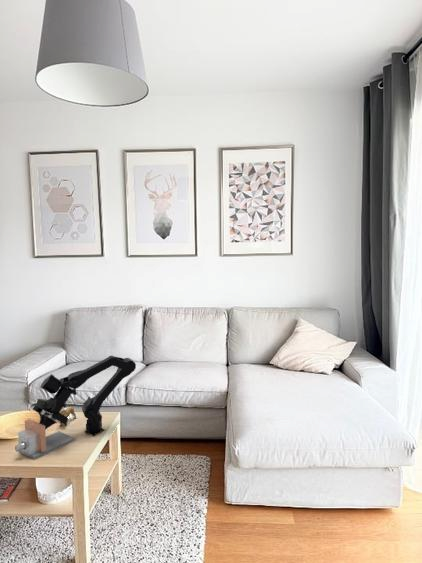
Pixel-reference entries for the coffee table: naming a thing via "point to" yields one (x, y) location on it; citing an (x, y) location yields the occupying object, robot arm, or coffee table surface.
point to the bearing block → (29, 441)
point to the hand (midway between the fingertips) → (37, 433)
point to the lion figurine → (67, 413)
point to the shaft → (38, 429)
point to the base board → (53, 443)
